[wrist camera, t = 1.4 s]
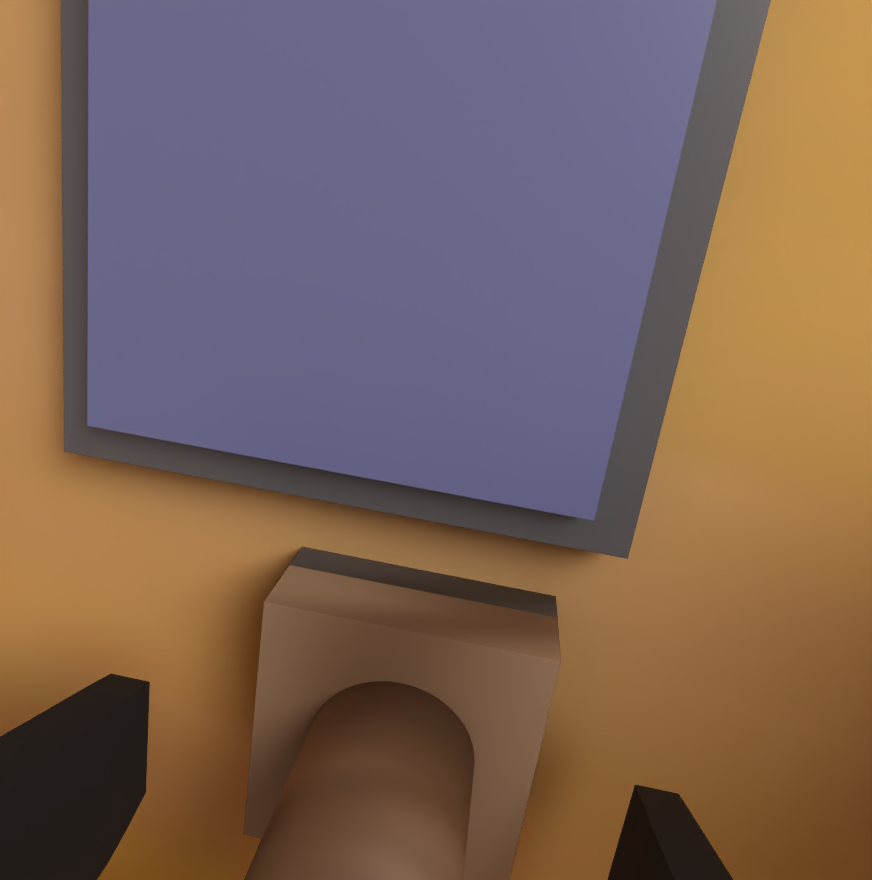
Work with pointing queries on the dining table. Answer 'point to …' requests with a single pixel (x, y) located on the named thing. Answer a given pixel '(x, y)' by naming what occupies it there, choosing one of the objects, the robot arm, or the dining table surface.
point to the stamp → (395, 722)
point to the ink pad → (394, 244)
